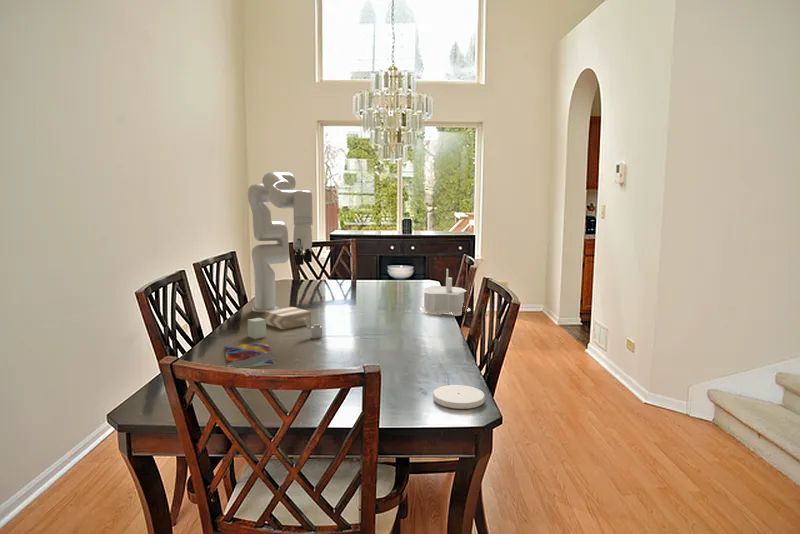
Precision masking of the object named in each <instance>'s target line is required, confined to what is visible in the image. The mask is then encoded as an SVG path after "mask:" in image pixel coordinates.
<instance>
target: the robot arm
mask: <svg viewBox="0 0 800 534" xmlns="http://www.w3.org/2000/svg"><path fill="white" fill-rule="evenodd" d="M261 181H262V182H261V183H255V184H254V183H253V184H251V185H250V186H249V187H248V190H247V199H248V200H247V201H248V204H249V207H250V210H251V214H252V225H253V226H252V229H253V236H254V240H256V241H258V242H276V243H265V244H264V243H262V244H257V245H255V246H253V248H252V249H251V258H252V264H253V275H254V300H253V301H252V304H254V306H253V307H252V308H251V311H252V312H255V313H265V311H269V310H275V309H280V307H279V305H276V273H275V271H274V269H273V268H272V267H271V266H270V265H274V264H275V265H276V264H285V263H287V262H288V261H289V257H290V246H289V245H290V244H289V243H290V242H289V231H288V227H287V224H286V223H285V222H284V221H280V220H272V213H271V210H270V208H269V206H268V205H267V204H266V203H271V205H273V206H274V207H276V208H278V209H293V226H294V227H293V237H292V239H293V243H292V247H293V250H294V257H295V265H296V266H304V265H305V264H304V263H312V262H313V260H312V259H313V257H312V256H313V255H312V252H313V249H312V248H313V233H312V231H313V230H312V226H313V224H314V223H313V221H314V220H313V218H314V217H313V193H312V192H311V191H310V190H301V189H295V188H296V183H297V182H296V177H295V176H294V175H293V174H292V173H291V172H285V171H284V172H280V171H271V172H267V173H264V175H263V176H262V179H261Z"/></svg>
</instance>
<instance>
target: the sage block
mask: <svg viewBox="0 0 800 534" xmlns="http://www.w3.org/2000/svg"><path fill="white" fill-rule="evenodd" d="M247 337H248V338H251V339H254V340H257V339H261V338H266V337H267V324H266V320H265V318H262V317H255V318H251V319H250V318H249V319H248V318H247Z"/></svg>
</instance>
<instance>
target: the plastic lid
mask: <svg viewBox="0 0 800 534" xmlns="http://www.w3.org/2000/svg"><path fill="white" fill-rule="evenodd" d="M432 396H433V397H432V399H433V401H434V402H435V403H436V404H438V405H440V406H442V407H445V408H449V409H450V408H451V409H457V410H458V409H462V410H464V409H465V410H466V409H473V408H479V406H482V405H483V404H484V403H485V393H484V392H483V391H482V390H480V389H479V388H477V387H473V386H470V385H464V384H463V385H462V384H448V385H442V386H440V387H437V388H435V389H434V390H433V393H432Z"/></svg>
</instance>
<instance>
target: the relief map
mask: <svg viewBox="0 0 800 534" xmlns="http://www.w3.org/2000/svg"><path fill="white" fill-rule="evenodd" d="M224 353H225V354H224V355H225V360H226V366H227V365H233V366H230V367H239V368H238V369H241V368H251V367H253V368H254V367H263V366H274V365H276V361H275V359H274V356H273V354H272V351H271V349H270V346H269V344H268V342H262V343H243V344H238V345H233V346H224Z"/></svg>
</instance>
